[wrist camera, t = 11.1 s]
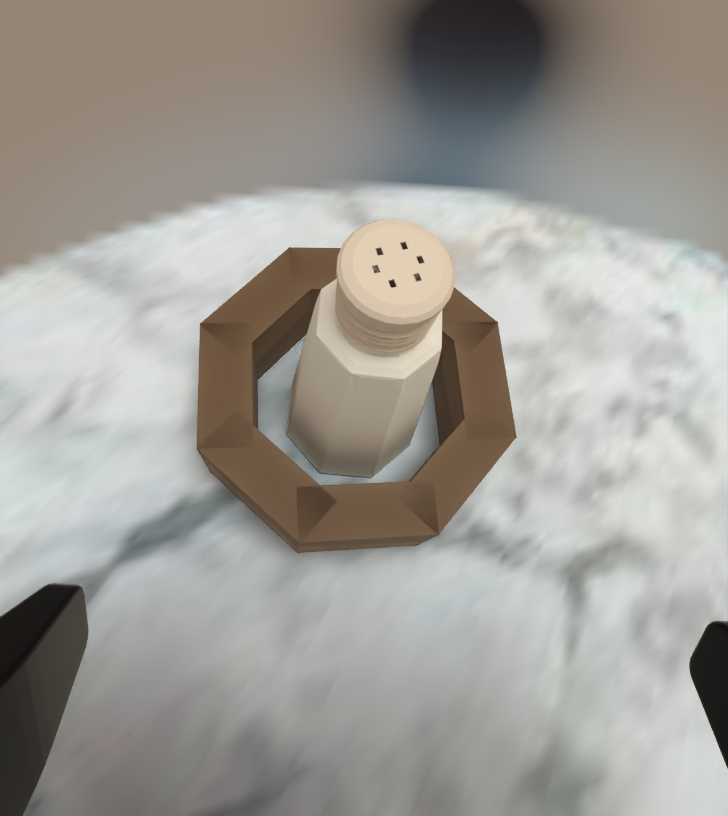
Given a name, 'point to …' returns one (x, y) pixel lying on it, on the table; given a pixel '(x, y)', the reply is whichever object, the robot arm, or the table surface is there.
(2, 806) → the robot arm
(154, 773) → the table surface
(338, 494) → the ring holder
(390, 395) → the pepper shaker
